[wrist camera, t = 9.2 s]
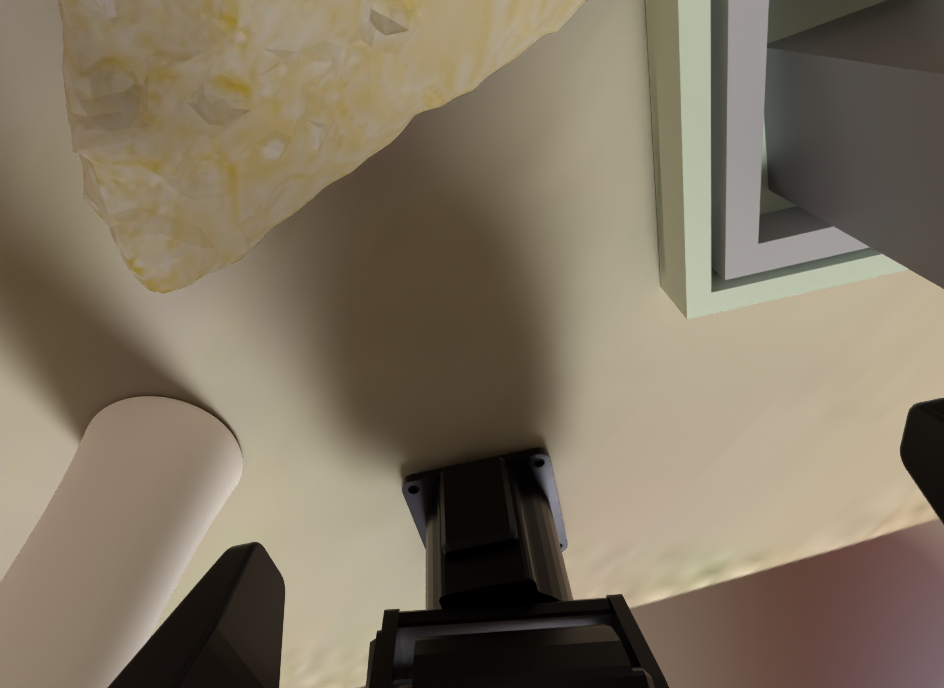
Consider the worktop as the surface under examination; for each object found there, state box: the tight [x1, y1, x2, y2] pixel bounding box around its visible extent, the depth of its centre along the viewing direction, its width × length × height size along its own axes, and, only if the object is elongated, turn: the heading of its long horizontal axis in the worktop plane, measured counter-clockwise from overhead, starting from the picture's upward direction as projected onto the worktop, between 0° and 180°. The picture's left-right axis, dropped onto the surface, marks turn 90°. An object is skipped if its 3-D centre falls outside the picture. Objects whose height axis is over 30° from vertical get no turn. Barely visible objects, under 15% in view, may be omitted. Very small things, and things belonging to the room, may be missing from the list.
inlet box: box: [645, 0, 910, 319], centre depth 17 cm, size 11×11×3 cm
